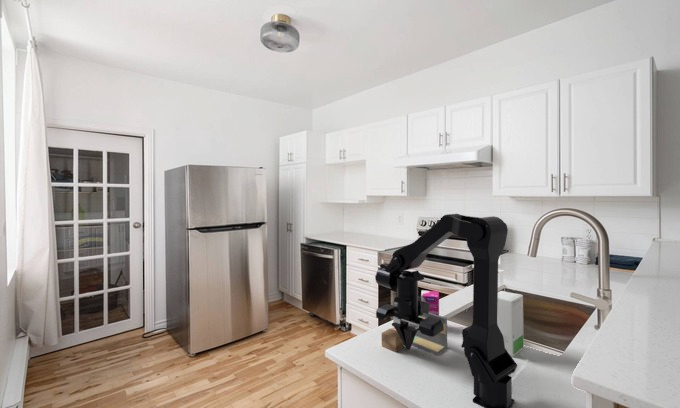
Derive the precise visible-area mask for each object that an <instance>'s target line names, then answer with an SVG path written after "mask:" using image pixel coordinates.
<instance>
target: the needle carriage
mask: <svg viewBox="0 0 680 408" xmlns="http://www.w3.org/2000/svg"><path fill="white" fill-rule="evenodd" d="M381 347H382V348H385V349H387V350H389V351H392V352H394V353H397V352H398V351H400V350H402V349H403V348H404V347H405V345H404V343H403V341H402V340H401V338H400V336H399V334H398V332H397V331H395V330H393V329H391V328H388V329H386V330H384V331H382V332H381Z"/></svg>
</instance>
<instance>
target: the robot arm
mask: <svg viewBox="0 0 680 408" xmlns="http://www.w3.org/2000/svg"><path fill="white" fill-rule="evenodd" d="M508 231H509V229H508V225H507V223H506V222H504V220H503V219H502V218H500V217H498V216H486V217H485V216H484V217H478V216H477V217H476V216H468V215H464V214H459V213H451V214H450V213H449V214H445V215H443V216H441V217H440V219H439V220H438V221H437V222H436V223H435V224H434V225H432V226H431V227H430V228H429V229H428V230H426V231H425V232H424V233H423V234H422V235H420V236H419V237H418V238H417V239H416V240H414V241H413V242H411V243H410V244H407V245H404V246H402V247H400V248H398V249H395V250H394V251H393V252H392V258H391V259H390V261H389V263H387V262H384V263H383V262H382V263H380V267H379V268H378V269H377V271H376V274H375V276H374V277H375V281H376V283H377V285H379V286H380V287H381V286H382V287H384V288H387V289H390V290H394V291H395V290H396V296H395V297H394V299H393V301H394V303H397V307H396V306H394V304H390V303H385V304H383V305H381V306H379V307H377V309H376V310H375V315H376V316H375V317H376V318H377V319H378V320H379V319H380V320H382V321H384V320H386V319H387V317H392V319H393V320H392V321H393V322H392V323H391V326H392V327H393V328H394V327H395V329H396V331H397V332H398V334H399V336H400V338H401V340H402V341H403V343H404V347H405V349H406V350H411V348H412V343H413V341H414V338H415V335H416V333H417V331H419V330H420V332H421V333H422V334H424V335H427V336H430V337H434V336H435V335H437V334H438V333H440V332H442V331H443V330H444V324H443V322H442V321H441V320H440V319H437V318H433V317H430V316H429V317H427V318H425V319H423V318H420V317H418V316H422V315H423V313H426V314H428V313H429V307H430V303H428V302H424V301H421V295H420V296H419V284H418V283H419V281H423V280H425V276H424V275H422V274H421V272H419V270H415V271H414V270H413V269H416V268H419V267H420V266H421V265H422V264H423V262H424V261H425V260H426V259H427V256H428V254H429V253H431V252H432V251H433V250H434V249H436V248H437V247H438V246H439V245H441V244H442V243H443V242H445V241H446V240H447V239H449V238H450V237H451V236H453V235H455V236H457V237H460V238H464V239H466V246H467V248H468V250H469V252H470V254H471V256H472V258H473V279H472V282H473V283H472V284H473V288H472V289H473V290H472V292H473V293H472V297H473V298H472V323H471V325H469V326H466V327H464V328H462V330H461V331H462V332H461V335H462V343H461V348H463V353H464V356H465V358H466V359H467V363H468V366H469V369H470V372H471V376H472V377H473V395H474V397H473V398H472V402H473V404H476V405H478V406H480V407H482V408H512V407H513V405H514V404H515V402H516V401H515V399H514V398H512V397H513V395H512V394H513V393H512V392H513V390H512V389H513V388H512V387H513V385H512V384H513V382H512V381H513V379H512V378H513V377H512V376H511V374H514V373H515V372H516V370H517V368H518V363H516V362H515V360H514V357H511V356H510V354H509V353H508V352H507V350H506V349H505V345H504V338H503V335H502V333H501V331H500V329H499V327H498V325H497V303H498V292H499V260H500V256H501V254H502V253H503V251H504V248H505V246H506V243H507V238H508V233H509V232H508ZM409 270H413V271H409Z"/></svg>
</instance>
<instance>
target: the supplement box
mask: <svg viewBox="0 0 680 408" xmlns="http://www.w3.org/2000/svg"><path fill="white" fill-rule="evenodd" d="M420 293H421V294H420V297H421V301H424V302H428V303H430V307H429V313H433V314H436V315H439V316H440V293H439V291H434V290H424V289H422V290H421V292H420Z"/></svg>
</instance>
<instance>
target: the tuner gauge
mask: <svg viewBox="0 0 680 408" xmlns="http://www.w3.org/2000/svg"><path fill="white" fill-rule="evenodd" d="M393 306H396V307H397V302H394V303H393ZM429 316H430V317H433V318H437V319H440V320H441V321H442V322H443V324H444V330H443V331H442V332H440V333H438V334H437V335H435V336H434V337H430V336H427V335H424V334H422V333H421V332H420V330H419V331H417V333H416V335H415V338H414V341H413V343H412V346H413V347H414V348H417V349H420V350H422V351H425V352H426V353H430V354H431V355H434V356H439V354H441V353H442V352H444V351H445V350H446V349H447V348H448V317H447V316H446V317H445V316H442V315H440V314H439V315H436V314H433V313H428V314H426V313H423V315H422V316H418V317H420V318H423V319H425V318H427V317H429ZM390 329H393V330H395V331H396V329H395V327H394V326H393V327H391V328H390ZM412 346H411V347H412Z"/></svg>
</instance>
